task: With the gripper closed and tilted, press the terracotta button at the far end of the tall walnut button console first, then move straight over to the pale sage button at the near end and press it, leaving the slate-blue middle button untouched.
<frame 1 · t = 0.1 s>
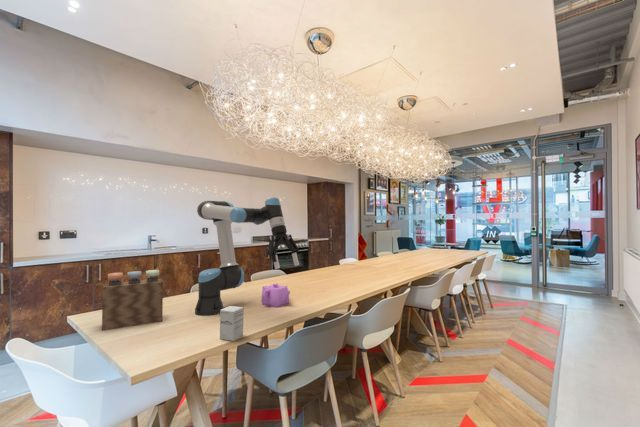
hand: (287, 267, 148), 28 cm above the table, tool tilted 20°, fingers open, 13 cm apart
supplement box: (231, 337, 129), on the table
terracotta button: (115, 277, 145), point 23 cm above the table, slide at 0.0 cm
button console: (133, 322, 149), on the table
sage button: (152, 274, 154), point 23 cm above the table, slide at 0.0 cm
slate button: (134, 275, 150), point 23 cm above the table, slide at 0.0 cm
teakettle: (276, 304, 183), on the table
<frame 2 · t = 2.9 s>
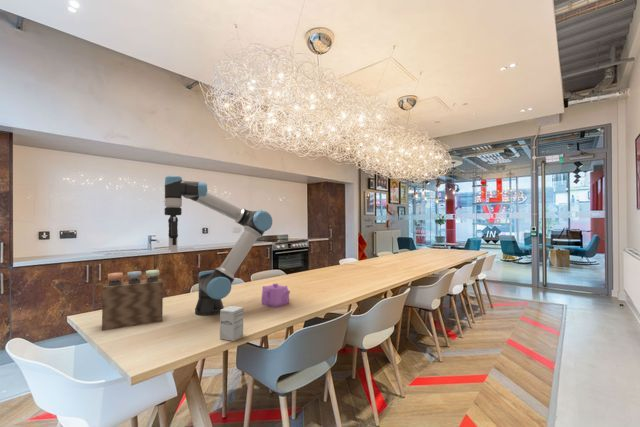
hand: (172, 250, 145), 36 cm above the table, tool pointing down, fingers open, 12 cm apart
nothing on the table moved.
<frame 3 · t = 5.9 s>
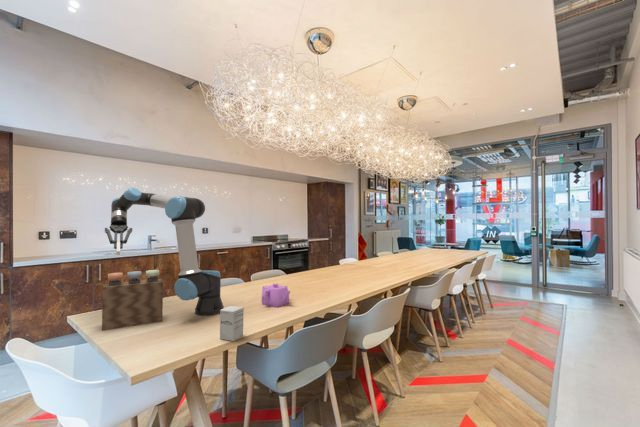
hand: (118, 253, 154), 35 cm above the table, tool tilted 45°, fingers closed
nothing on the table moved.
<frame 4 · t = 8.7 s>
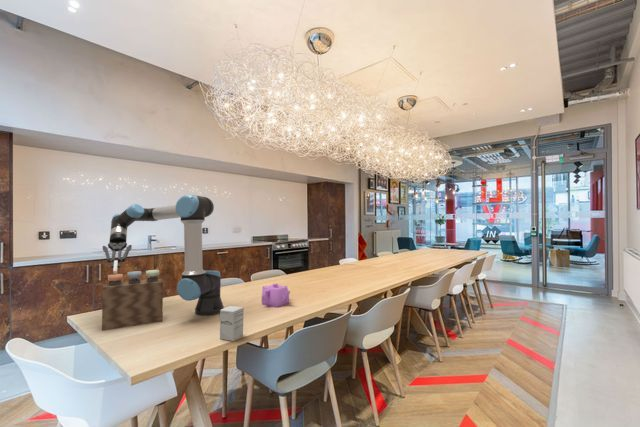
hand: (115, 272, 146), 26 cm above the table, tool tilted 45°, fingers closed
terracotta button: (115, 278, 145), point 23 cm above the table, slide at 0.7 cm, touching gripper
everything else where it was.
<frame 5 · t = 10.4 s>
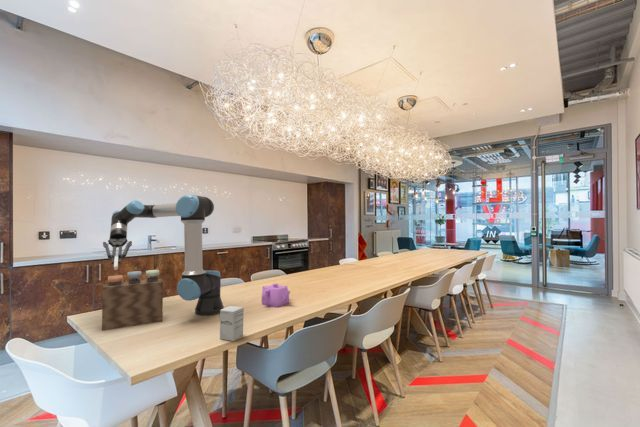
hand: (115, 268, 146), 28 cm above the table, tool tilted 45°, fingers closed
terracotta button: (115, 280, 145), point 22 cm above the table, slide at 1.3 cm
everything else where it was.
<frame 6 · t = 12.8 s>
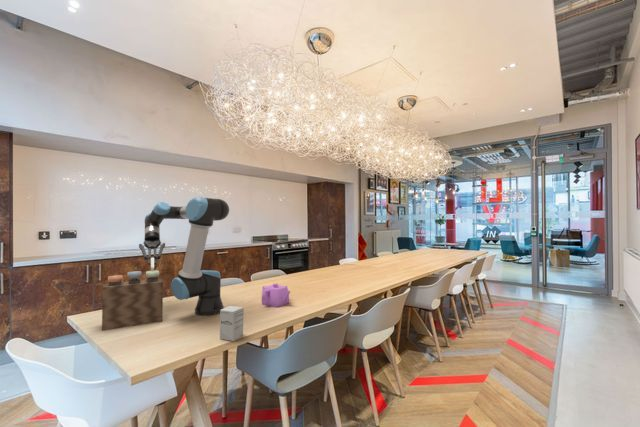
hand: (152, 268, 154), 26 cm above the table, tool tilted 45°, fingers closed
sage button: (152, 275, 154), point 23 cm above the table, slide at 0.4 cm, touching gripper
everything else where it was.
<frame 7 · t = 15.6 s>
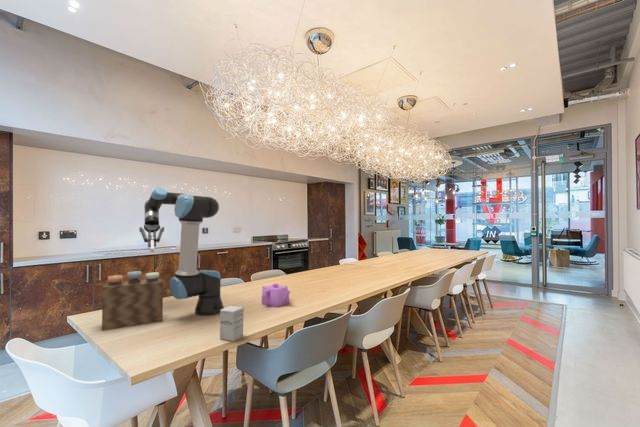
hand: (152, 250, 162), 35 cm above the table, tool tilted 45°, fingers closed
sage button: (152, 277, 154), point 22 cm above the table, slide at 1.3 cm
everything else where it was.
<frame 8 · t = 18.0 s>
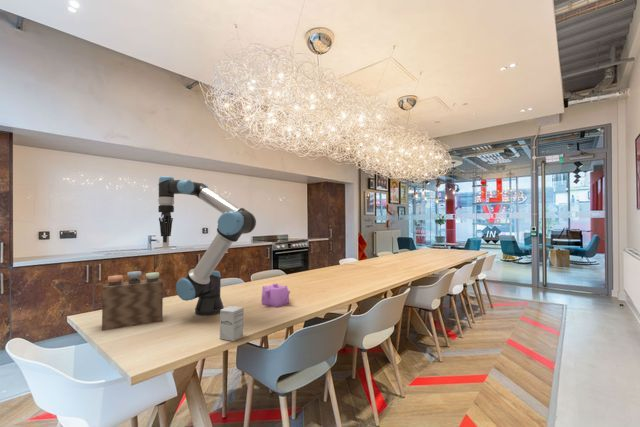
hand: (165, 248, 161), 36 cm above the table, tool pointing down, fingers closed
nothing on the table moved.
at the end: terracotta button slide at 1.3 cm; sage button slide at 1.3 cm; slate button slide at 0.0 cm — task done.
